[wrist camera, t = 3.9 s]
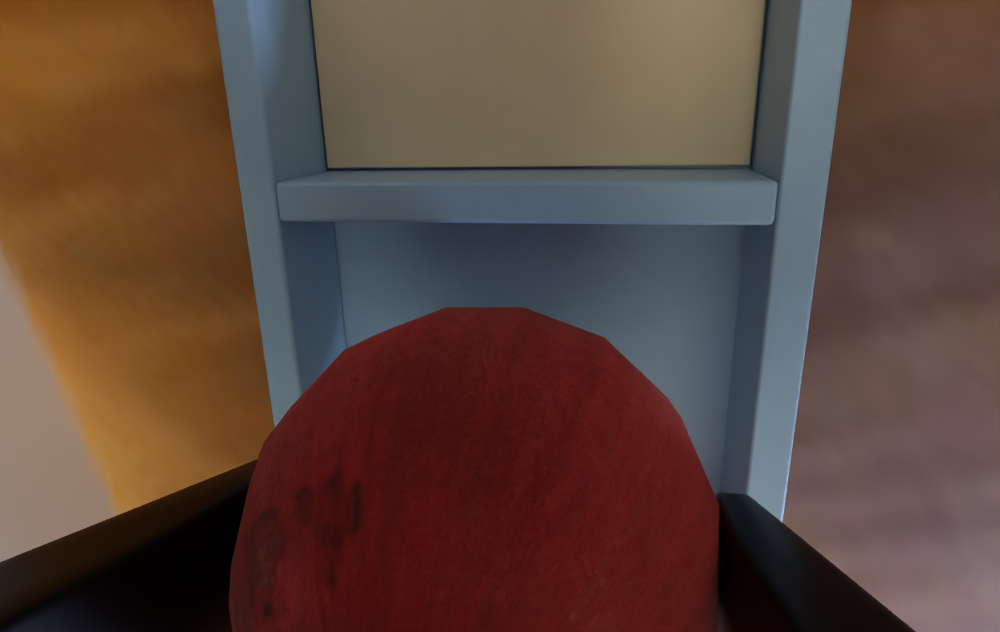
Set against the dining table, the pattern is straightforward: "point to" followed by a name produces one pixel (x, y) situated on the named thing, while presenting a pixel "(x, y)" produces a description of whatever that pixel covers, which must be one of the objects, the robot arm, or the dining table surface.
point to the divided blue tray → (547, 186)
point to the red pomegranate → (478, 491)
